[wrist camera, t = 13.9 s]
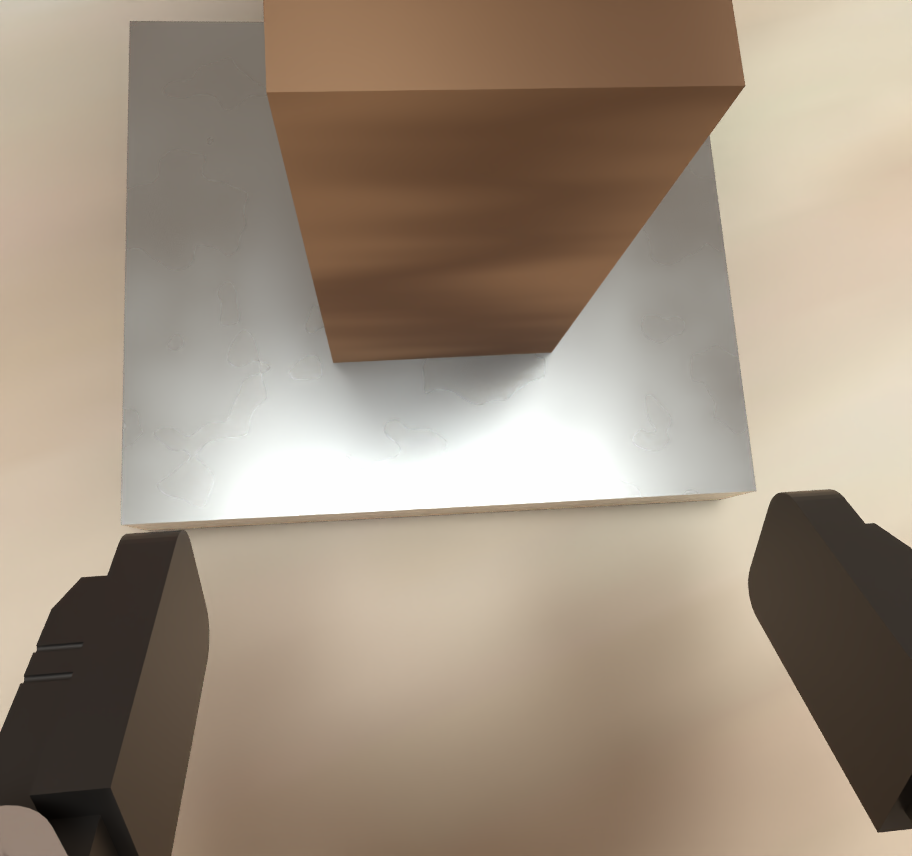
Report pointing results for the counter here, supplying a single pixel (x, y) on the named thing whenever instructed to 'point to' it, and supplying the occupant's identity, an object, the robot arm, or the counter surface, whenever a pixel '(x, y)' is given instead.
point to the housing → (483, 156)
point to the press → (390, 381)
